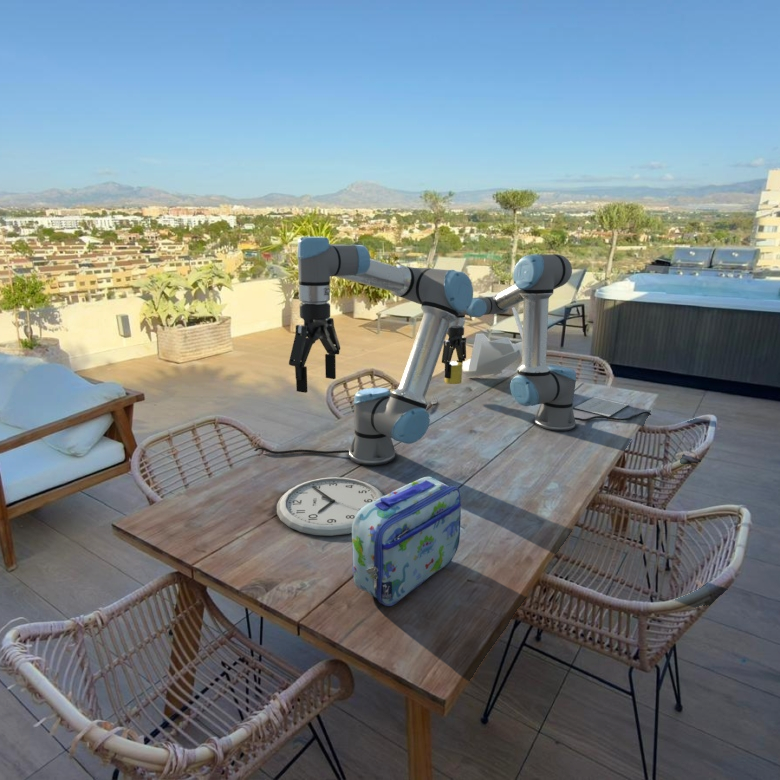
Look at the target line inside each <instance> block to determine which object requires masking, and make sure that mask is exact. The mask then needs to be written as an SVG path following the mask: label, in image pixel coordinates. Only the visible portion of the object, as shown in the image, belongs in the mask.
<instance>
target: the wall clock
mask: <svg viewBox="0 0 780 780" xmlns="http://www.w3.org/2000/svg"><path fill="white" fill-rule="evenodd" d="M383 496H385V494H384V493H383V492H382V491H381V490H380V489H379V488H377V487H376V486H374V485H372V484H371V483H369V482H365V481H362V480H359V479H355V478H349V477H338V476H337V477H335V476H333V477H332V476H331V477H322V478H317V479H312V480H307V481H305V482H302V483H299V484H297V485H295V486H293V487H292V488H290V489H288V490H287V491H286V492H285V493H284V494H283V495H281V496H280V498H279V499H278V502H277V503H276V515H277V517H278V518H279V520H280V521H281V522H282V523H283V524H285V525H286V526H287V527H288V528H290V529H293V530H295V531H297V532H299V533H303V534H308V535H312V536H327V537H328V536H329V537H331V536H332V537H333V536H342V535H350V534H352V526H353V521H354V518H355V516H356V515H357V513H358V512H359V510H360V509H361V508H362V507H364V506H365V505H367V504H369V503H371V502H373V501H375V500H377V499H379V498H381V497H383Z"/></svg>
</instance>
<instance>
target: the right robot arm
mask: <svg viewBox="0 0 780 780" xmlns="http://www.w3.org/2000/svg"><path fill="white" fill-rule="evenodd" d="M572 273H573V266H572V264H571V262H570V260H569V259H568V258H567V257H566V256H564V255H562V254H559V253H555V254H554V253H552V254H540V253H539V254H537V253H534V254H528V255H525V256H523V257H521V258H520V259H518V261H517V262H516V264H515V265H514V268H513V272H512V280H513V283H514V285H511V286H509V287H508V288H506V289H503V290H502V291H499V293H496V294H495V295H492V296H480V297H479V296H477V297H473V299H472V302H471V305H470V306H469V308H467V309H466V310H465V311H463V312H459V315H458V318H457V320H455V321H453V322H451V323H450V326H449V329H448V332H447V335H446V336H448V337H447V339H446V340H444V343H443V347H442V357H441V363H442V364H444V379H445V378H448V379H450V378H451V364H450V362H451V361H452V358H453V355H454V351H455V353H456V356H457V360H456V362H461V363H462V366H463V362H465V361H466V359H467V337H464V336H465V325H466V316H468V317H472V318H481V317H483V316H486V315H488V316H489V315H501V314H505V313H507V312H508V311H509V309H510V308H513V307H515V306H516V305H519V304H520V303H522V302H523V308H522V309H523V311H522V314H523V315H522V327H523V342H522V358H521V365H519V366H518V367H517V371H516V372H517V373H516V375H515V376H514V377H513V378H512V379H511V381H510V384H509V389H510V394H511V396H512V397H513V399H514V401H515V402H516V403H517V404H519V405H521V406H522V407H534V406H537V405H539V407H538V410H537V411H536V413H535V417H534V424H535V425H536V426H537V427H539V428H542V429H544V430H549V431H556V432H567V431H572V430H574V429H575V428H576V421H579V422H580V421H581V422H588V421H590V420H594V419H607V420H613V421H630V420H632V419H633V418H636V417H639V416H641V415H645V414H648V416H652V414H651V413H650V412H649V411H646V410H645V411H641V412H639V413H636V414H633V415H631V416H629V417H626V418H621V417H620V418H619V417H612V416H609V417H608V416H604V415H594V416H590V417H588V418H581V417H576V416H575V413H574V407H573V405H574V398H575V391H576V383H577V372H576V371H575V370H574V369H572V368H571V367H570V368H569V367H566V366H561V365H554V364H547V351H548V349H547V348H548V328H549V327H548V325H549V300H550V298H551V297H552V296H553V295H554V291H555V290H556V289H558V288H560V287H563V286H565V285H566V284H567V283H568V282H569V281H570V279H571V277H572Z"/></svg>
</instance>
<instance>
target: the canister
mask: <svg viewBox="0 0 780 780" xmlns="http://www.w3.org/2000/svg"><path fill="white" fill-rule="evenodd" d="M450 364H451V378H450V379H448V378H445V377H444V383H446V384H448V385H459V384H462V380H463V379H462V377H463V370H462V363H461V362H457V360H455V361H453V360H451V362H450Z"/></svg>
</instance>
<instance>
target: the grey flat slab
mask: <svg viewBox="0 0 780 780" xmlns="http://www.w3.org/2000/svg"><path fill="white" fill-rule="evenodd" d="M628 406H629V404H627V403H623V402H618V401H614V400H609V399H605V398H601V397H596V396H593V397H592V398H590V399H588V400H586V401H584V402H582V403H580V404H578V405H575V406H574V407H573V409H575V410H581V411H584V412H587V413H593V414H596V415H599V416H606V417H612V416H613V415H614V414H616V413H617V412H619V411H621V410H623V409H624V408H626V407H628Z"/></svg>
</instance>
